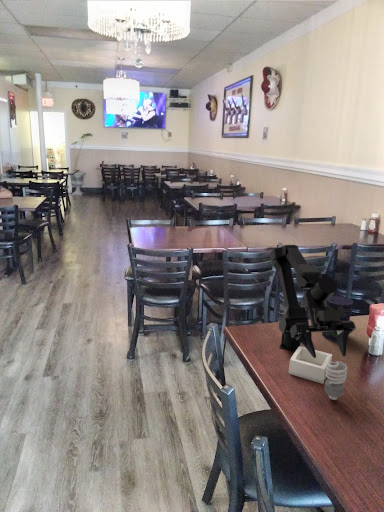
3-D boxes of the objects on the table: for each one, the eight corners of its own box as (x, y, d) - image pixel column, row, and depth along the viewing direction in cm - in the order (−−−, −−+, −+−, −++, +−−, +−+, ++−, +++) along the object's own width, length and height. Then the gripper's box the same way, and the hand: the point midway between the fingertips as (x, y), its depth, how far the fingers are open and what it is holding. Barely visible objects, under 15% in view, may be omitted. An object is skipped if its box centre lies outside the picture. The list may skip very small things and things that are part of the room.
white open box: (288, 373, 129) (289, 359, 127) (298, 359, 138) (299, 345, 136) (322, 383, 123) (324, 369, 122) (330, 368, 132) (332, 354, 131)
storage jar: (340, 329, 161) (345, 294, 157) (353, 341, 152) (358, 304, 148) (316, 330, 160) (321, 295, 156) (328, 342, 150) (333, 305, 146)
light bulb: (333, 407, 112) (338, 369, 109) (318, 396, 117) (322, 359, 114) (347, 402, 115) (352, 364, 111) (332, 391, 119) (337, 355, 116)
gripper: (297, 297, 117) (310, 350, 109) (356, 295, 119) (373, 346, 112) (285, 312, 126) (295, 361, 118) (340, 310, 129) (354, 358, 121)
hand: (329, 356), depth 117 cm, fingers open, 9 cm apart
